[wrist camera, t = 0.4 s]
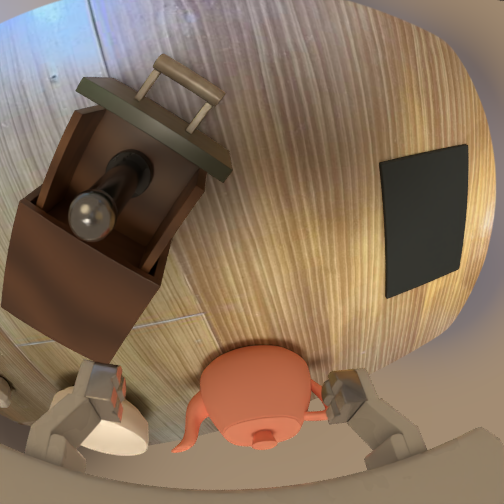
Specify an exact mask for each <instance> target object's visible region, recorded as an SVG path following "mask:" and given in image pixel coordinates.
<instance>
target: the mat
mask: <svg viewBox="0 0 504 504" xmlns="http://www.w3.org/2000/svg"><path fill="white" fill-rule="evenodd" d="M379 166H380V175H381V185H382V197H383V210H384V227H385V255H386V293H385V297H386V298H387V299H388V298H390V297H393V296H396V295H398V294H401V293H403V292H406V291H408V290H411V289H413V288H416V287H418V286H421V285H423V284H426V283H428V282H430V281H433V280H435V279H437V278H440V277H442V276H444V275H447V274H449V273H451V272H453V271H456V270H458V269H459V266H460V260H461V254H462V247H463V239H464V231H465V222H466V210H467V195H468V145H466V144H463V145H458V146H453V147H448V148H443V149H438V150H433V151H429V152H424V153H419V154H415V155H410V156H406V157H401V158H397V159H393V160H388V161H384V162H380V163H379Z"/></svg>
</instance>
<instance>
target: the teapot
mask: <svg viewBox="0 0 504 504" xmlns="http://www.w3.org/2000/svg"><path fill="white" fill-rule="evenodd" d="M321 390H322V386H320V385H319V384H317V383H316V382H315V381H313V380H312V379H311V378H310V373H309V369H308V366H307V364H306V362H305V361H304V360H303V359H302V358H301V357H300V356H299V355H297V354H296V353H294V352H292V351H290V350H288V349H286V348H283V347H279V346H272V345H255V346H247V347H242V348H238V349H235V350H232V351H229V352H227V353H224V354H222V355H221V356H219V357H217V358H216V359H215V360H213V361H212V362H211V363H210V364H209V365H208V366H207V367H206V368H205V369H204V371H203V373H202V375H201V378H200V391H199V392H198V393H197V394H196V395H195V396H193V398H192V399H191V400H190V402H189V404H188V406H187V411H186V425H185V434H184V437H183V439H182V441H181V442H180V443H179V444H178V445H177V446H176V447H175V448H174V449H173V450H172V451H171V452H173V453H177V452H182V451H185V450H187V449H189V448H191V447H192V446H193V445H194V444H195V442H196V440H197V437H198V433H199V427H200V425H201V423H202V421H203V420H204V419H205V418H207V417H208V416H209V417H210V418H211V420H212V422H213V423H214V425H215V426H216V427H217V429H218V430H219V431H220V433H221V434H222V435H223V436H224V438H225V439H226V440H227V441H229V442H230V443H232V444H234V445H238V446H252V448H254V449H257V450H265V449H270V448H273V447H275V446H276V445H277V443H278V442H282V441H285V440H287V439H290V438H292V437H294V436H295V435H296V434H297V433H298V432H299V431H300V429H301V427H302V424H303V422H304V421H319V420H320V421H321V420H328V418H327V415H326V412H325V411H326V409H327V406H326V405H325V404H324V403H323V401H322V396H321ZM311 391H312V392H313V393H314V394H315V395H316V396H317V397H318V398H319V399H320V400H321V401H322V403H323V404H324V406H325V410H323V411H317V412H307V411H308V407H309V403H310V397H311Z"/></svg>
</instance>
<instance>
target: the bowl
mask: <svg viewBox="0 0 504 504" xmlns="http://www.w3.org/2000/svg"><path fill="white" fill-rule="evenodd" d="M73 388H74V386H71V387H68V388H66V389H65V390H61V391H59V392H57V393H56V394H55V396H54V398H53V401H52V403H51V406H50V409H51V408H52V407H53V406H54V405H56V404H57V403H58V402H59V401H60V400H61V399H63V398H64V397H65V396H66V395H67V394H68V393H69V394H72V392H73ZM121 404H122V407H123V413H122V420H121V423H119V422H112V421H106V420H101V422H100V423H99V424H98V425H97V426H96V427H95V429H94V430H93V431H92V432H91V433H90V434H89V436H88V437H87V438H86V439H85V440H84V441H83V442H82V444H81V445H82V446H84V447H87V448H89V449H92V450H95V451H99V452H103V453H107V454H113V455H122V456H132V455H139V454H142V453H144V452H145V451H146V450H147V448H148V423H147V421H146V419H145V418H144V417H143V416H142V415H141V413H140V411H139V410H138V409H137V408H136V407H135V406H134V405H132V404H131V403H130V402H129V401H127V400H126V399H124V400H123V401H122V402H121ZM50 409H49V410H50Z"/></svg>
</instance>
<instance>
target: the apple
mask: <svg viewBox="0 0 504 504" xmlns="http://www.w3.org/2000/svg"><path fill="white" fill-rule="evenodd" d="M10 403H11V390H10V387H9V384H8V382H7V381H6V380H5V379H3V378H2V377H0V407H1V408H4V407H8V406H9V405H10Z"/></svg>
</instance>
